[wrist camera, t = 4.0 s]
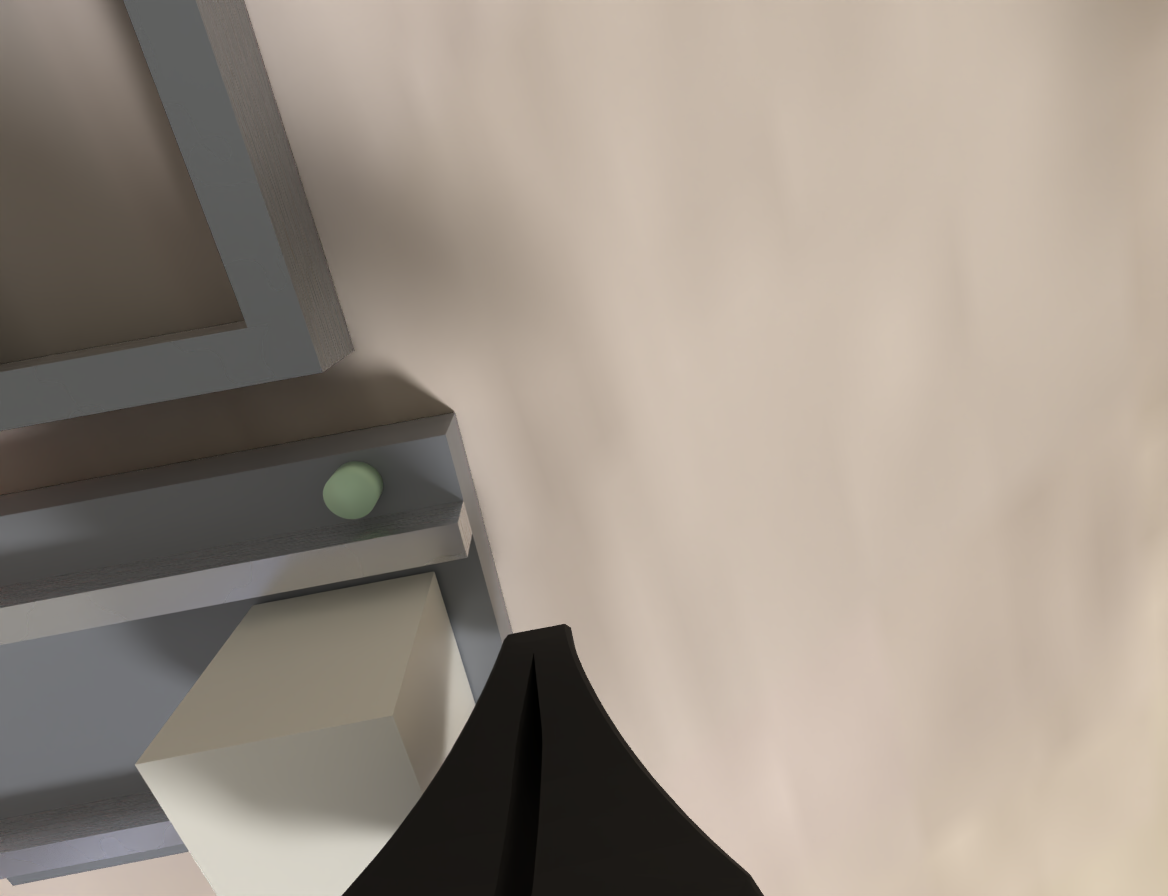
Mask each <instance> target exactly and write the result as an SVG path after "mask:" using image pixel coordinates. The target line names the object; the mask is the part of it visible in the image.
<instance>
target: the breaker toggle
mask: <svg viewBox="0 0 1168 896" xmlns="http://www.w3.org/2000/svg"><path fill="white" fill-rule="evenodd" d="M474 707H475V702H474V699H473V695H472V692H471V689H470V686H469V682H468V679H467V676H466V673H465V669H464V666H463V663H462V660H461V656H460V653H459V650H458V647H457V643H456V640H455V637H454V634H453V630H452V627H451V624H450V621H449V617H448V614H447V611H446V608H445V604H444V601H443V598H442V595H441V591H440V588H439V585H438V582H437V578H436V575H435V572H434V571H433V572H428V573H422V574H417V575H412V576H406V577H401V578H396V579H390V580H385V581H380V582H374V583H369V584H364V585H358V586H353V587H348V588H342V589H337V590H332V591H326V592H321V593H316V594H310V595H305V596H300V597H294V598H289V599H284V600H278V601H273V602H268V603H262V604H257V605H253V606H252V607H251V608H250V610H249V611H248V613H247V614H246V615H245V617H244V618H243V619H242V621H241V622H240V623H239V625H238V626H237V627H236V629H235V630H234V631H233V633H232V634H231V635H230V637H229V638H228V640H227V641H226V642H225V644H224V645H223V646H222V648H221V649H220V650H219V652H218V653H217V654H216V656H215V657H214V658H213V660H212V661H211V662H210V664H209V665H208V666H207V668H206V669H205V671H204V672H203V673H202V675H201V676H200V677H199V679H198V680H197V681H196V683H195V684H194V685H193V687H192V688H191V689H190V691H189V692H188V693H187V695H186V696H185V697H184V699H183V700H182V702H181V703H180V704H179V706H178V707H177V708H176V710H175V711H174V712H173V714H172V715H171V716H170V718H169V719H168V720H167V722H166V723H165V724H164V726H163V727H162V729H161V730H160V731H159V733H158V734H157V735H156V737H155V738H154V739H153V741H152V742H151V743H150V745H149V746H148V747H147V749H146V750H145V751H144V753H143V754H142V755H141V757H140V758H139V760H138V761H137V762H136V764H135V766H136V767H137V769H138V771H139V772H140V774H141V775H142V777H143V779H144V780H145V782H146V783H147V785H148V787H149V788H150V790H151V791H152V793H153V795H154V796H155V798H156V799H157V801H158V803H159V804H160V806H161V807H162V809H163V811H164V812H165V814H166V815H167V817H168V819H169V820H170V822H171V823H172V825H173V827H174V828H175V830H176V831H177V833H178V835H179V836H180V838H181V839H182V841H183V843H184V844H185V846H186V847H187V849H188V851H189V852H190V854H191V855H192V857H193V859H194V860H195V862H196V863H197V865H198V866H199V868H200V870H201V871H202V873H203V874H204V876H205V878H206V879H207V881H208V882H209V884H210V886H211V887H212V889H213V890H214V892H215V894H216V895H217V896H342V894H343V893H344V892H345V891H346V890H347V889H348V888H349V886H350V885H351V884H352V883H353V882H354V881H355V880H356V878H357V877H358V876H359V875H360V874H361V873H362V871H363V870H364V869H365V868H366V867H367V866H368V865H369V863H370V862H371V861H372V860H373V859H374V858H375V856H376V855H377V854H378V853H379V852H380V850H381V849H382V848H383V847H384V845H385V844H386V843H387V842H388V840H389V839H390V838H391V837H392V835H393V834H394V833H395V831H396V830H397V829H398V827H399V826H400V825H401V823H402V822H403V821H404V819H405V818H406V817H407V815H408V814H409V813H410V811H411V810H412V808H413V807H414V806H415V804H416V803H417V802H418V800H419V799H420V797H421V796H422V794H423V793H424V791H425V790H426V789H427V787H428V786H429V784H430V783H431V781H432V780H433V778H434V777H435V775H436V773H437V772H438V770H439V769H440V767H441V766H442V764H443V762H444V761H445V759H446V757H447V756H448V754H449V752H450V751H451V749H452V747H453V745H454V744H455V742H456V740H457V738H458V737H459V735H460V733H461V731H462V729H463V728H464V726H465V724H466V722H467V720H468V719H469V717H470V715H471V713H472V711H473V709H474Z"/></svg>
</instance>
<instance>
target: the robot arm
mask: <svg viewBox="0 0 1168 896" xmlns="http://www.w3.org/2000/svg"><path fill="white" fill-rule="evenodd" d="M342 896H764V895H763V894H762V892H761V891H760V889H759V887H758V886H757V884H756V883H755V881H754V880H753V878H752V877H751V875H750V874H749V873H748V872H747V871H746V870H744V869H743V868H742V867H741V866H740V865H739V864H738V863H736V862H735V861H734V860H733V859H732V858H731V857H730V856H729V855H727V854H726V853H725V852H724V851H723V850H722V849H721V848H720V847H719V846H718V845H717V844H716V843H715V842H713V841H712V840H711V839H710V838H709V837H708V836H707V835H706V834H705V833H704V832H703V831H702V830H701V829H700V828H699V827H698V826H697V825H696V824H695V823H694V822H693V821H692V820H691V819H690V818H689V817H688V816H687V815H686V814H685V813H684V811H683V810H682V809H681V808H680V807H679V806H678V805H677V804H676V803H675V801H674V800H673V799H672V798H671V797H670V796H669V795H668V794H667V793H666V791H665V790H664V789H663V788H662V787H661V786H660V785H659V784H658V783H657V781H656V780H655V779H654V778H653V777H652V775H651V774H650V773H649V772H648V770H647V769H646V768H645V767H644V765H643V764H642V763H641V762H640V760H639V759H638V758H637V756H636V755H635V754H634V752H633V751H632V750H631V748H630V747H629V745H628V744H627V743H626V741H625V740H624V738H623V737H622V736H621V734H620V733H619V731H618V730H617V728H616V727H615V725H614V723H613V722H612V720H611V719H610V717H609V715H608V714H607V712H606V711H605V709H604V707H603V706H602V704H601V702H600V700H599V699H598V697H597V695H596V693H595V691H594V689H593V687H592V686H591V684H590V682H589V680H588V678H587V676H586V674H585V672H584V670H583V667H582V665H581V663H580V660H579V658H578V655H577V653H576V650H575V645H574V640H573V636H572V631H571V627H569V626H567V625H566V624H562V625H556V626H551V627H546V628H541V629H535V630H530V631H525V632H519V633H514V634H509V635H507V637H506V638H505V639H504V641H503V644H502V646H501V649H500V652H499V654H498V657H497V659H496V661H495V664H494V666H493V669H492V671H491V673H490V675H489V678H488V680H487V682H486V684H485V686H484V688H483V690H482V692H481V695H480V697H479V699H478V701H477V703H476V705H475V707H474V709H473V711H472V713H471V715H470V717H469V719H468V720H467V722H466V724H465V726H464V728H463V729H462V731H461V733H460V735H459V737H458V738H457V740H456V742H455V744H454V745H453V747H452V749H451V751H450V752H449V754H448V756H447V757H446V759H445V761H444V762H443V764H442V766H441V767H440V769H439V770H438V772H437V773H436V775H435V777H434V778H433V780H432V781H431V783H430V784H429V786H428V787H427V789H426V790H425V791H424V793H423V794H422V796H421V797H420V799H419V800H418V802H417V803H416V804H415V806H414V807H413V808H412V810H411V811H410V813H409V814H408V815H407V817H406V818H405V819H404V821H403V822H402V823H401V825H400V826H399V827H398V829H397V830H396V831H395V833H394V834H393V835H392V837H391V838H390V839H389V840H388V842H387V843H386V844H385V845H384V847H383V848H382V849H381V850H380V852H379V853H378V854H377V855H376V856H375V858H374V859H373V860H372V861H371V862H370V863H369V865H368V866H367V867H366V868H365V869H364V870H363V871H362V873H361V874H360V875H359V876H358V877H357V878H356V880H355V881H354V882H353V883H352V884H351V885H350V886H349V888H348V889H347V890H346V891H345V892H344V893H343V894H342Z"/></svg>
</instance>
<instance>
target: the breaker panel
mask: <svg viewBox="0 0 1168 896" xmlns="http://www.w3.org/2000/svg"><path fill="white" fill-rule="evenodd" d="M433 571H434V572H435V575H436V578H437V582H438V585H439V588H440V591H441V595H442V598H443V601H444V604H445V608H446V611H447V614H448V617H449V621H450V624H451V627H452V630H453V634H454V637H455V640H456V643H457V647H458V650H459V653H460V656H461V660H462V663H463V666H464V669H465V673H466V676H467V679H468V682H469V686H470V689H471V692H472V695H473V699H474V702H475V705H476V703H477V701H478V699H479V697H480V695H481V692H482V690H483V688H484V686H485V684H486V682H487V680H488V678H489V675H490V673H491V671H492V669H493V666H494V664H495V661H496V659H497V657H498V654H499V652H500V649H501V646H502V644H503V641H504V639H505V638H506V637H507V635H509V634H513V632H512V629H511V625H510V621H509V617H508V613H507V609H506V606H505V602H504V598H503V594H502V590H501V586H500V583H499V579H498V575H497V571H496V567H495V563H494V560H493V556H492V552H491V548H490V544H489V541H488V537H487V533H486V529H485V525H484V521H483V518H482V514H481V510H480V506H479V502H478V498H477V495H476V491H475V487H474V483H473V479H472V475H471V472H470V468H469V464H468V460H467V456H466V452H465V449H464V445H463V441H462V437H461V433H460V429H459V426H458V422H457V418H456V414H455V413H449V414H444V415H438V416H433V417H427V418H422V419H416V420H411V421H405V422H400V423H394V424H389V425H384V426H378V427H373V428H367V429H362V430H356V431H351V432H345V433H340V434H334V435H329V436H323V437H318V438H313V439H307V440H302V441H296V442H291V443H285V444H280V445H274V446H269V447H263V448H258V449H252V450H247V451H241V452H236V453H231V454H225V455H220V456H214V457H209V458H203V459H198V460H192V461H187V462H181V463H176V464H170V465H165V466H159V467H154V468H149V469H143V470H138V471H132V472H127V473H121V474H116V475H110V476H105V477H99V478H94V479H88V480H83V481H78V482H72V483H67V484H61V485H56V486H50V487H45V488H39V489H34V490H28V491H23V492H17V493H12V494H6V495H1V496H0V879H4V878H7V879H8V880H9V882H10V883H11V884H12V885H13V886H14V885H19V884H24V883H29V882H34V881H40V880H45V879H50V878H55V877H60V876H65V875H70V874H76V873H81V872H86V871H91V870H96V869H101V868H107V867H112V866H117V865H122V864H127V863H132V862H138V861H143V860H148V859H153V858H158V857H163V856H169V855H174V854H179V853H184V852H189V851H188V849H187V847H186V846H185V844H184V843H183V841H182V839H181V838H180V836H179V835H178V833H177V831H176V830H175V828H174V827H173V825H172V823H171V822H170V820H169V819H168V817H167V815H166V814H165V812H164V811H163V809H162V807H161V806H160V804H159V803H158V801H157V799H156V798H155V796H154V795H153V793H152V791H151V790H150V788H149V787H148V785H147V783H146V782H145V780H144V779H143V777H142V775H141V774H140V772H139V771H138V769H137V767H136V766H135V764H136V762H137V761H138V760H139V758H140V757H141V755H142V754H143V753H144V751H145V750H146V749H147V747H148V746H149V745H150V743H151V742H152V741H153V739H154V738H155V737H156V735H157V734H158V733H159V731H160V730H161V729H162V727H163V726H164V724H165V723H166V722H167V720H168V719H169V718H170V716H171V715H172V714H173V712H174V711H175V710H176V708H177V707H178V706H179V704H180V703H181V702H182V700H183V699H184V697H185V696H186V695H187V693H188V692H189V691H190V689H191V688H192V687H193V685H194V684H195V683H196V681H197V680H198V679H199V677H200V676H201V675H202V673H203V672H204V671H205V669H206V668H207V666H208V665H209V664H210V662H211V661H212V660H213V658H214V657H215V656H216V654H217V653H218V652H219V650H220V649H221V648H222V646H223V645H224V644H225V642H226V641H227V640H228V638H229V637H230V635H231V634H232V633H233V631H234V630H235V629H236V627H237V626H238V625H239V623H240V622H241V621H242V619H243V618H244V617H245V615H246V614H247V613H248V611H249V610H250V608H251V607H252V606H253V605H257V604H262V603H268V602H273V601H278V600H284V599H289V598H294V597H300V596H305V595H310V594H316V593H321V592H326V591H332V590H337V589H342V588H348V587H353V586H358V585H364V584H369V583H374V582H380V581H385V580H390V579H396V578H401V577H406V576H412V575H417V574H422V573H428V572H433Z"/></svg>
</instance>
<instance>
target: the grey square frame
mask: <svg viewBox="0 0 1168 896" xmlns="http://www.w3.org/2000/svg"><path fill="white" fill-rule="evenodd" d="M123 1H124V4H125V6H126V9H127V12H128V14H129V17H130V19H131V22H132V25H133V27H134V30H135V33H136V35H137V38H138V40H139V43H140V46H141V48H142V51H143V54H144V56H145V59H146V62H147V64H148V67H149V69H150V72H151V75H152V77H153V80H154V83H155V85H156V88H157V91H158V93H159V96H160V98H161V101H162V104H163V106H164V109H165V112H166V114H167V117H168V120H169V122H170V125H171V127H172V130H173V133H174V135H175V138H176V141H177V143H178V146H179V149H180V151H181V154H182V156H183V159H184V162H185V164H186V167H187V170H188V172H189V175H190V178H191V180H192V183H193V185H194V188H195V191H196V193H197V196H198V199H199V201H200V204H201V206H202V209H203V212H204V214H205V217H206V220H207V222H208V225H209V228H210V230H211V233H212V235H213V238H214V241H215V243H216V246H217V249H218V251H219V254H220V257H221V259H222V262H223V264H224V267H225V270H226V272H227V275H228V278H229V280H230V283H231V286H232V288H233V291H234V293H235V296H236V299H237V301H238V304H239V307H240V309H241V312H242V315H243V317H244V320H245V321H239V322H234V323H228V324H222V325H217V326H211V327H206V328H200V329H195V330H189V331H183V332H178V333H172V334H167V335H161V336H156V337H150V338H144V339H139V340H133V341H128V342H122V343H117V344H111V345H105V346H100V347H94V348H89V349H83V350H78V351H72V352H66V353H61V354H55V355H50V356H44V357H39V358H33V359H27V360H22V361H16V362H11V363H5V364H0V431H3V430H8V429H14V428H19V427H25V426H30V425H36V424H41V423H47V422H52V421H58V420H63V419H69V418H74V417H80V416H85V415H91V414H96V413H102V412H107V411H113V410H118V409H124V408H129V407H135V406H140V405H146V404H152V403H157V402H163V401H168V400H174V399H179V398H185V397H190V396H196V395H201V394H207V393H212V392H218V391H223V390H229V389H234V388H240V387H245V386H251V385H256V384H262V383H267V382H273V381H278V380H284V379H289V378H295V377H301V376H306V375H312V374H317V373H323V372H324V371H326V370H327V369H328V368H330V367H331V366H333V365H334V364H336V363H337V362H339V361H340V360H341V359H343V358H344V357H346V356H347V355H349V354H350V353H352V352H353V351H354V347H353V344H352V341H351V338H350V335H349V332H348V328H347V325H346V322H345V319H344V316H343V313H342V309H341V306H340V303H339V300H338V297H337V294H336V290H335V287H334V284H333V281H332V278H331V275H330V271H329V268H328V265H327V262H326V259H325V256H324V252H323V249H322V246H321V243H320V240H319V237H318V233H317V230H316V227H315V224H314V221H313V218H312V214H311V211H310V208H309V205H308V202H307V199H306V195H305V192H304V189H303V186H302V183H301V180H300V176H299V173H298V170H297V167H296V164H295V161H294V157H293V154H292V151H291V148H290V145H289V142H288V138H287V135H286V132H285V129H284V126H283V123H282V119H281V116H280V113H279V110H278V107H277V104H276V100H275V97H274V94H273V91H272V88H271V85H270V81H269V78H268V75H267V72H266V69H265V66H264V62H263V59H262V56H261V53H260V50H259V47H258V43H257V40H256V37H255V34H254V31H253V28H252V24H251V21H250V18H249V15H248V12H247V9H246V5H245V2H244V0H123Z"/></svg>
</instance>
